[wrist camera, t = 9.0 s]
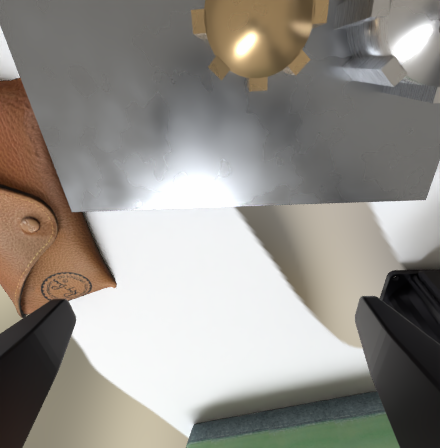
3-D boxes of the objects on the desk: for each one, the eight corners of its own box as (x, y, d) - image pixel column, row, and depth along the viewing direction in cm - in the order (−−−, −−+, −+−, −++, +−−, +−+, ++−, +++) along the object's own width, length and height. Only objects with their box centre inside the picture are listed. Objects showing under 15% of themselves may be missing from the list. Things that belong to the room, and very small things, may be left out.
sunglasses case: (124, 291, 25) (53, 349, 20) (81, 270, 29) (13, 315, 24) (31, 64, 16) (-131, 77, 11) (-13, 76, 20) (-149, 90, 15)
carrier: (415, 192, 19) (489, 246, 13) (80, 204, 21) (23, 256, 15) (602, -389, 9) (1236, -1171, 3) (-88, -262, 11) (-442, -615, 5)
